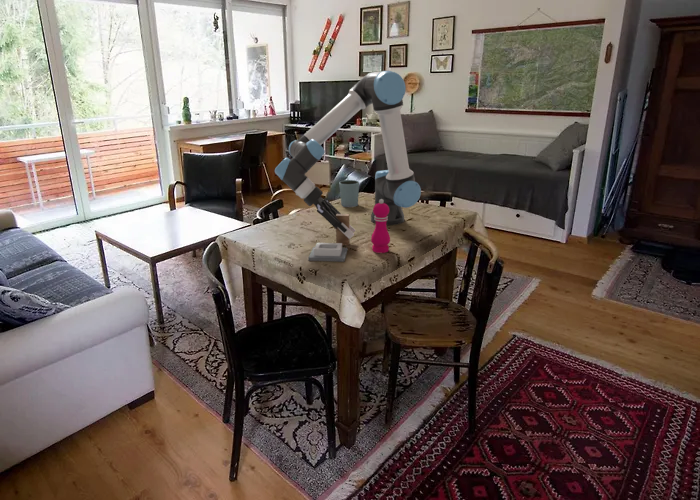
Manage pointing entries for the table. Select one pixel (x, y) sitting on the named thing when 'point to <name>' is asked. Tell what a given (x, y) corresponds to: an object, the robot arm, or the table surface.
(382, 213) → the pepper mill
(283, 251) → the table surface
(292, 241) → the table surface
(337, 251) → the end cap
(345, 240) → the wooden slat
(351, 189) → the blue-grey cup
